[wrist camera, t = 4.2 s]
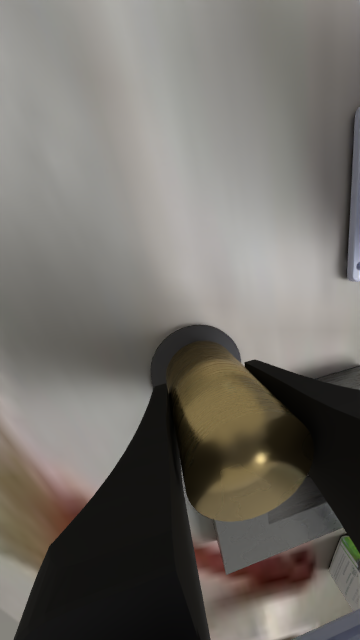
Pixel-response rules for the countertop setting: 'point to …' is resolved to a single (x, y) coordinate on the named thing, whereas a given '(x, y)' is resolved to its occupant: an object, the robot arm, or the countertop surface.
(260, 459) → the hub peg
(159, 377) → the stand pad
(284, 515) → the steel plate
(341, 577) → the syrup box
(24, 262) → the countertop surface
